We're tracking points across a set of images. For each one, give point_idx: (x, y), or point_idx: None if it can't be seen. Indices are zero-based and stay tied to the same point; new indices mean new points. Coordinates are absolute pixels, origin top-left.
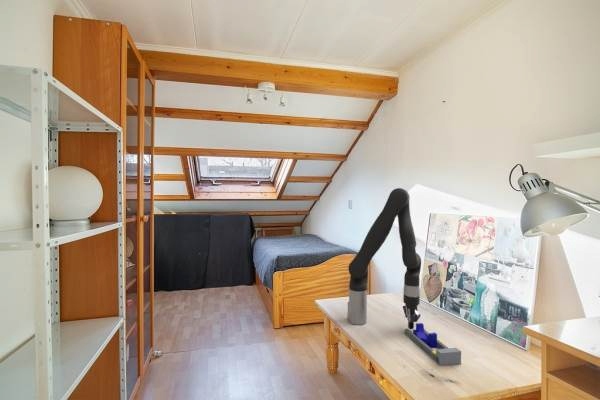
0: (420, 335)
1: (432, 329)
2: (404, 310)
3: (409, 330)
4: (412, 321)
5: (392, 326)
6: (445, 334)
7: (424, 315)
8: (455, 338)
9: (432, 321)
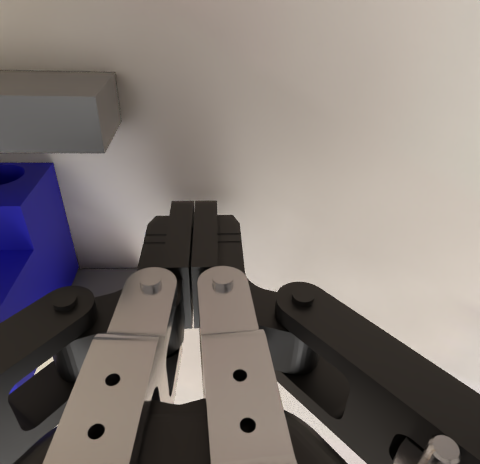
0: None
1: None
2: (417, 392)
3: (18, 146)
4: (32, 305)
5: (415, 9)
6: None
7: None
8: None
9: (352, 450)
